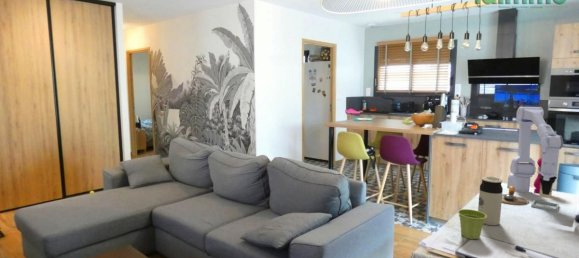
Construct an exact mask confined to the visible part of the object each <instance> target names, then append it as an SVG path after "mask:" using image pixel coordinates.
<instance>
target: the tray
mask: <svg viewBox="0 0 579 258" xmlns="http://www.w3.org/2000/svg"><path fill="white" fill-rule="evenodd" d="M535 203H538V204H544V205H549V206H554V207H555V208H553V207H549V206H548V207H547V206H544V205H543V206H542V205H537V204H535ZM530 205H531V206H530V207H531V208H535V209H539V210H544V211H545V210H546V211H551V212H555V213H557V212H558V209H559V207H560V204H559V203H557V202H551V201H545V200H539V199H534V200H533V201H532V203H531V204H530Z"/></svg>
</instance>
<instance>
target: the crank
mask: <svg viewBox="0 0 579 258" xmlns="http://www.w3.org/2000/svg"><path fill="white" fill-rule="evenodd" d="M515 193H516V192H515V187H513V186H509V189H508V194H507V193H506V194H505V195H504V199H506V200H514V196H515Z"/></svg>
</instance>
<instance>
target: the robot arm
mask: <svg viewBox="0 0 579 258" xmlns="http://www.w3.org/2000/svg"><path fill="white" fill-rule="evenodd" d="M544 114H545V111H544V109H543V107H542V106H519V107H518V108H517V110H516V118H515V119H516V123H517V124H519V125H518V126H519V128H518V129H519V130H518V131H519V132H518V149H517V150H518V153H517V156H515V157H514V158H512V159H511V163H510V166H509V167H510V168H509V169H510V174H509V175H508V176H507V184H506V189H508V190H509V186H513V187H515V191H516V192H520V193H532V192H531V191H530V186H531V185H530V184H531V178H533V176H534V175H535V174H536V171H537V174H538V173H540V174H541V177H542V178H541V177H540V178H539V180H540V182H541V185H542V192H543V194H546V195H549V193H550V190H551V187H552V188H553V186H552V185H554V183H555V182H556V179H557V178H558V177H557V176H558V173H557V172H558V166H559V165H558V164H559V157H560V156H559V155H560V150H561V149H562V148H563V147H564V140H563V139H564V138H563V136H562V135H559V134H556V132H555V131H554V129H553V128H552V125H550V124H547V122H546V121H545V119H544ZM532 125H534V126H536V133H537V135H538V136H539V138H540V145H541V152H542V154H541V155H542V156H541V158H542V164H541V171H539V170H536V169H537V168H536V162H535V160H534V159H533V158H532V157H531V134H532ZM532 194H533V193H532Z"/></svg>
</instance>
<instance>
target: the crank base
mask: <svg viewBox="0 0 579 258" xmlns="http://www.w3.org/2000/svg"><path fill="white" fill-rule="evenodd" d="M504 195H505V194H504V193H502V203H501V204H504V205H509V206H519V207H520V206H527V205H529V204H530V202H529V200H528V199H525V198H522V197H520V196H517V195H514V200H506V199H504Z"/></svg>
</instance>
